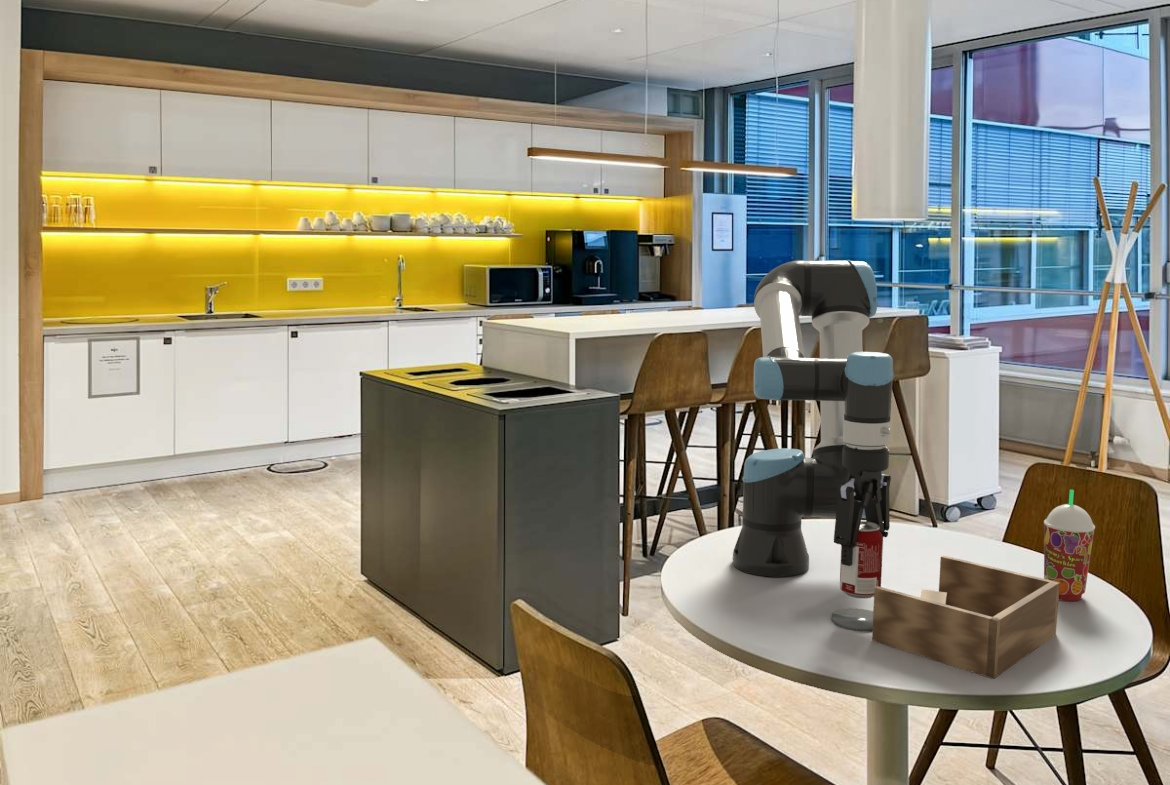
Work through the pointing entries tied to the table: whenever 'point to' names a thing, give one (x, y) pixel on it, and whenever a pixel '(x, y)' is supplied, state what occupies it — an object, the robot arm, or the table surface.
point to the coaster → (853, 619)
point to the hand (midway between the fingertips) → (860, 577)
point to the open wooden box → (970, 617)
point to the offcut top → (934, 596)
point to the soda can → (866, 562)
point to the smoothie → (1068, 549)
